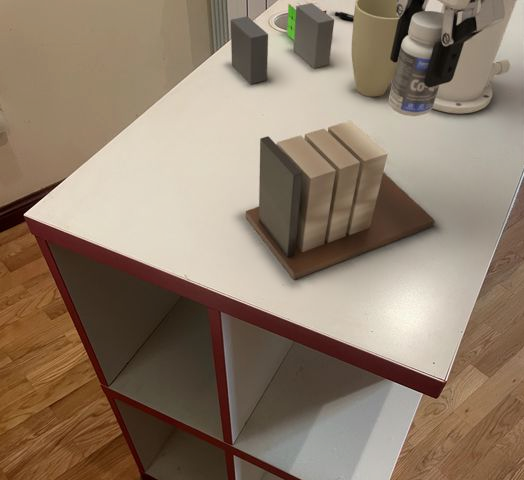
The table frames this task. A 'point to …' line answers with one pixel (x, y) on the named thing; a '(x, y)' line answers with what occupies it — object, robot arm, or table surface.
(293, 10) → the green boxy piece
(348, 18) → the pen
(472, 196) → the table surface
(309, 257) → the bookend with books
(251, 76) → the grey bookends
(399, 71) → the pill bottle
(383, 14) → the mug
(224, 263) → the table surface
